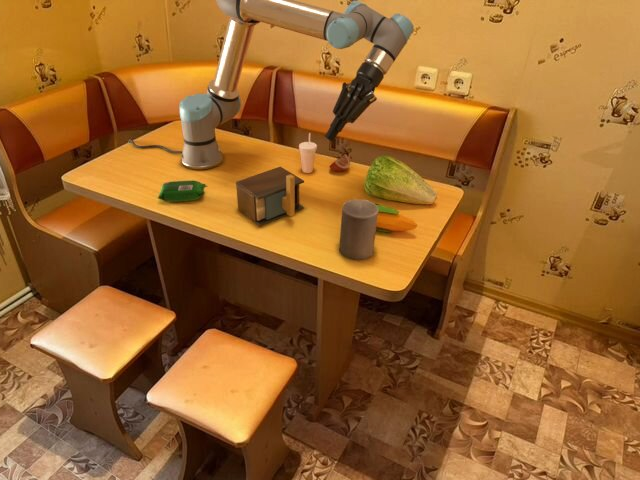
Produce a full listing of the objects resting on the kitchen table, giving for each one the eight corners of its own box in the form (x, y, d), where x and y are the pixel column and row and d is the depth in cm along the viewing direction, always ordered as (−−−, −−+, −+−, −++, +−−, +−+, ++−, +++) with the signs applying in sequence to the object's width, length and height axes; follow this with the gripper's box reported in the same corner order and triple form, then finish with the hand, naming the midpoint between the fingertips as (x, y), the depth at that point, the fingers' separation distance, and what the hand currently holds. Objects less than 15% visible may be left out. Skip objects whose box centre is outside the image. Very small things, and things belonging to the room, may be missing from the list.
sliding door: (265, 218, 152) (263, 177, 143) (286, 210, 155) (286, 169, 147) (274, 225, 148) (273, 184, 140) (296, 216, 152) (296, 175, 144)
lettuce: (434, 204, 147) (450, 166, 151) (361, 178, 153) (378, 141, 156) (425, 224, 160) (440, 188, 164) (358, 200, 166) (375, 165, 170)
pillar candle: (335, 256, 138) (338, 209, 128) (344, 237, 145) (347, 192, 136) (369, 263, 135) (375, 216, 126) (377, 243, 142) (382, 197, 133)
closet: (238, 209, 158) (235, 181, 152) (280, 193, 166) (280, 166, 160) (259, 226, 150) (258, 197, 144) (303, 208, 158) (304, 180, 152)
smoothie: (316, 174, 176) (317, 137, 168) (298, 174, 177) (298, 137, 168) (316, 166, 181) (317, 129, 173) (298, 166, 182) (298, 129, 173)
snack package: (206, 202, 162) (204, 188, 159) (158, 204, 161) (155, 190, 158) (207, 192, 168) (206, 178, 165) (161, 194, 167) (158, 180, 164)
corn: (355, 194, 149) (422, 206, 143) (353, 215, 154) (418, 228, 148) (347, 207, 144) (416, 221, 138) (346, 228, 149) (413, 242, 143)
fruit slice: (337, 163, 183) (338, 151, 180) (353, 168, 180) (354, 155, 177) (325, 172, 178) (326, 159, 175) (342, 177, 175) (342, 164, 171)
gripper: (396, 81, 142) (349, 152, 146) (364, 70, 150) (321, 137, 154) (384, 66, 136) (336, 140, 140) (352, 56, 145) (307, 126, 148)
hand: (328, 139), depth 147 cm, fingers closed
